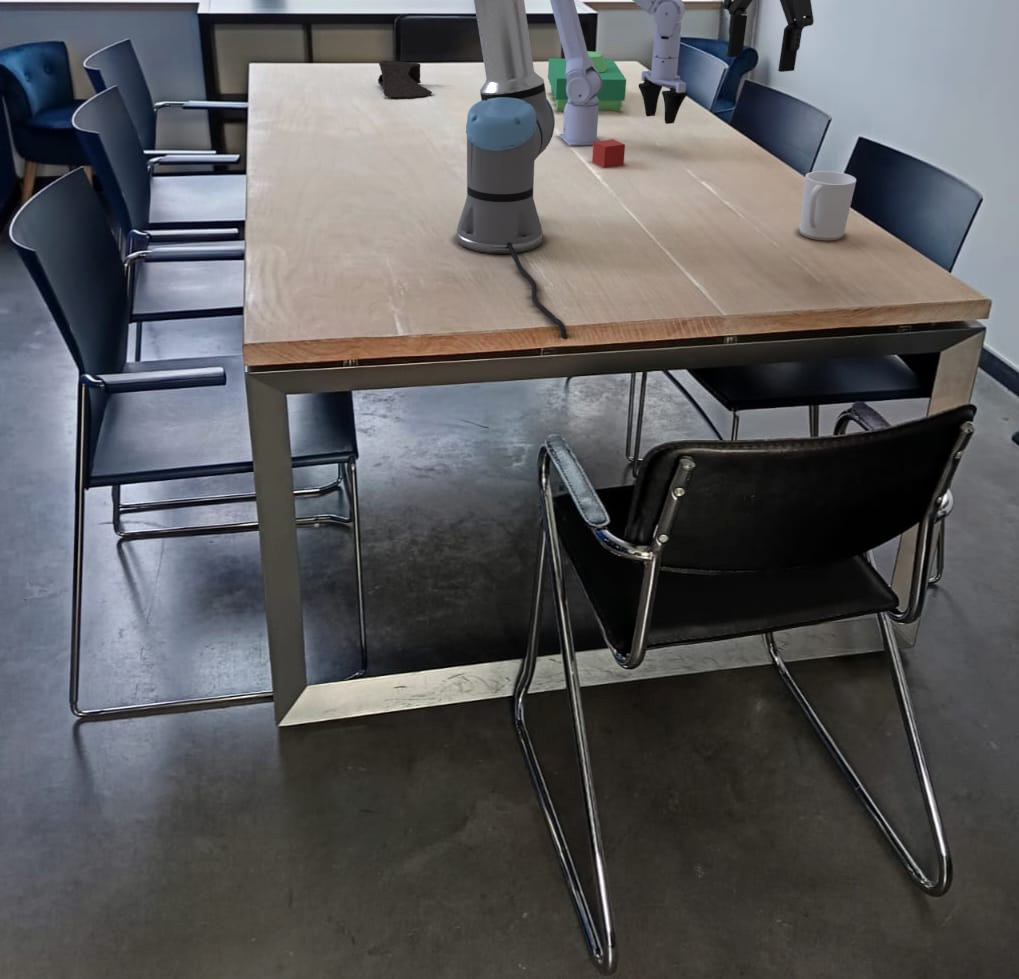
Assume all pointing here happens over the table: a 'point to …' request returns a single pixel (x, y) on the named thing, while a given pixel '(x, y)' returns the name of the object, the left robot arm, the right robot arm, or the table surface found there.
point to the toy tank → (611, 82)
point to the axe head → (401, 79)
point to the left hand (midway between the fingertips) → (759, 63)
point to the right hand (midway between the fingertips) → (659, 119)
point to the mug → (826, 204)
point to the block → (608, 153)
